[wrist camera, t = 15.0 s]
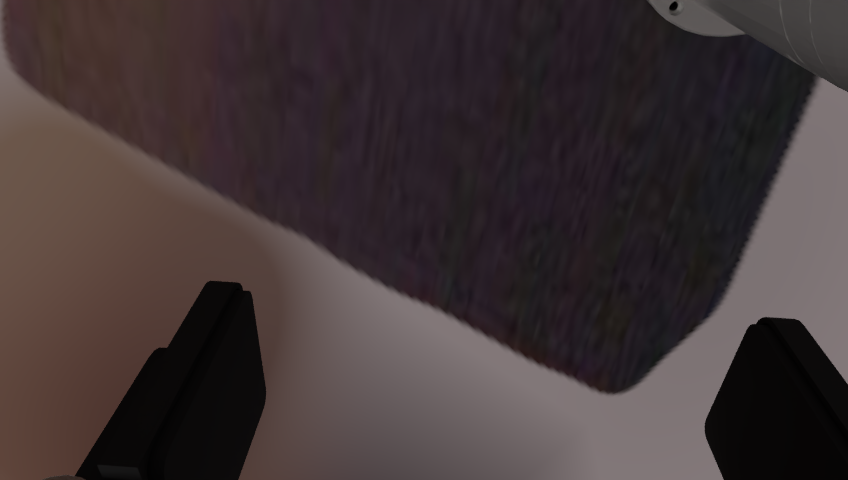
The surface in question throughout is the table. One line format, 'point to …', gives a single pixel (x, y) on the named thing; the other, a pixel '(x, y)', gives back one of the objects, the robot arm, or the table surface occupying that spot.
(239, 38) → the table surface
